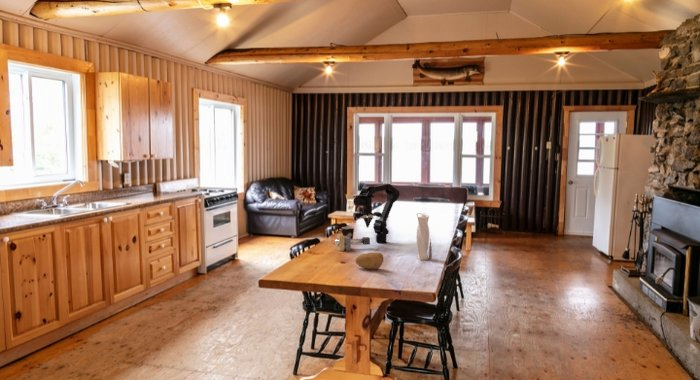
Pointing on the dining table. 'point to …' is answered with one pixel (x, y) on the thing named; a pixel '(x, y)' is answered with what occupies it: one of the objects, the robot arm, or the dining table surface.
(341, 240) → the spacer
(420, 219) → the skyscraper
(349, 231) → the coffee mug
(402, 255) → the dining table surface
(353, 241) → the shaft
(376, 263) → the potato
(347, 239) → the pillow block
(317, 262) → the dining table surface
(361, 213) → the robot arm
